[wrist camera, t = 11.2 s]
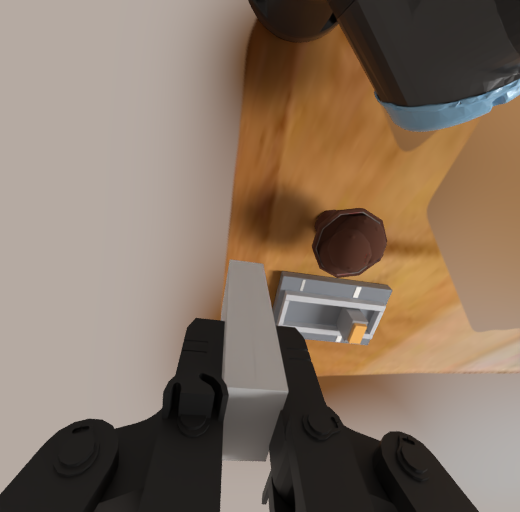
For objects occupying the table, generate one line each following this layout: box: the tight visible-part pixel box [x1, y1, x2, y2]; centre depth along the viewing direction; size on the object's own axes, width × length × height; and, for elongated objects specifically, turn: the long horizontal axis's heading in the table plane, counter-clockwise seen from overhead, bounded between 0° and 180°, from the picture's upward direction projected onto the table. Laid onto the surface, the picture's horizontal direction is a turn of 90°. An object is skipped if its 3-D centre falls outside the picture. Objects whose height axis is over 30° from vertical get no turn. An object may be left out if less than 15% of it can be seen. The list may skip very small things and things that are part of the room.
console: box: [272, 271, 392, 345], centre depth 55 cm, size 14×22×4 cm, turn 79°
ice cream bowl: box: [312, 208, 387, 278], centre depth 42 cm, size 11×11×15 cm
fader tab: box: [336, 307, 368, 344], centre depth 52 cm, size 5×3×6 cm, turn 169°
